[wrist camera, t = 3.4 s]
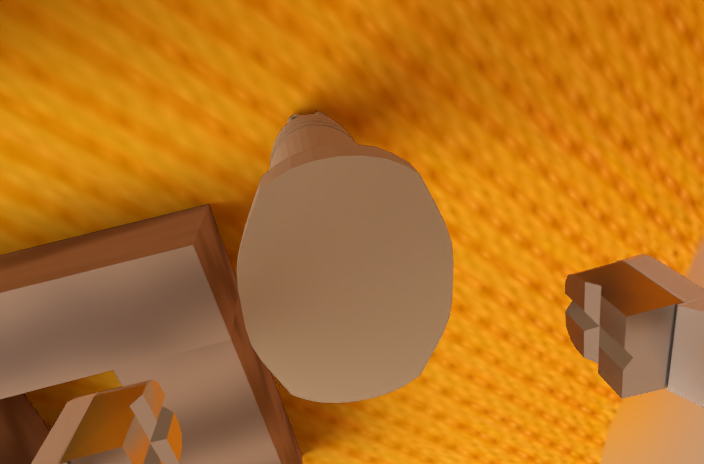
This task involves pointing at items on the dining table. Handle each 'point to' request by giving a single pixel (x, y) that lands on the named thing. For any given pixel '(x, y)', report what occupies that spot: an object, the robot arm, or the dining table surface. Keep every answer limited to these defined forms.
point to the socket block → (140, 336)
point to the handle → (342, 266)
